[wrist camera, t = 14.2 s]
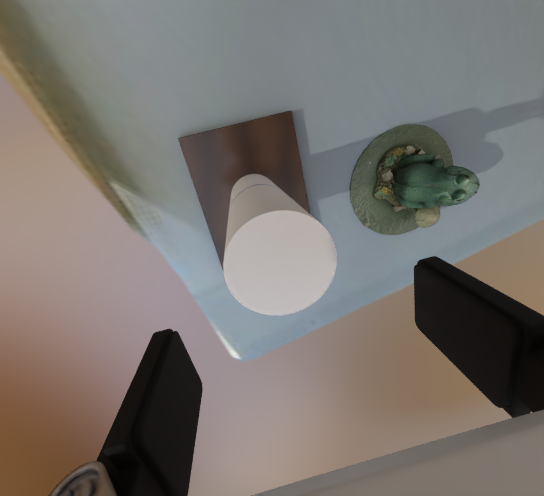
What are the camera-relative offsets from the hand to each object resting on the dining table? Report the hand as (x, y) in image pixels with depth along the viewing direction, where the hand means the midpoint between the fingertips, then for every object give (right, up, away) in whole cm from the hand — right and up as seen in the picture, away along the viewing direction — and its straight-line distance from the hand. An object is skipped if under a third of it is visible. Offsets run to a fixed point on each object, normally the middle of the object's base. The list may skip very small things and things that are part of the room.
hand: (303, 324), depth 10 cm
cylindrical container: (-4, +11, +29) cm, 32 cm away
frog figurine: (+20, +14, +33) cm, 41 cm away
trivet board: (-4, +11, +31) cm, 33 cm away
